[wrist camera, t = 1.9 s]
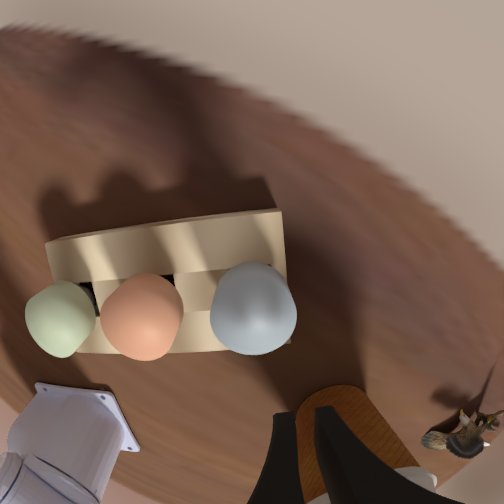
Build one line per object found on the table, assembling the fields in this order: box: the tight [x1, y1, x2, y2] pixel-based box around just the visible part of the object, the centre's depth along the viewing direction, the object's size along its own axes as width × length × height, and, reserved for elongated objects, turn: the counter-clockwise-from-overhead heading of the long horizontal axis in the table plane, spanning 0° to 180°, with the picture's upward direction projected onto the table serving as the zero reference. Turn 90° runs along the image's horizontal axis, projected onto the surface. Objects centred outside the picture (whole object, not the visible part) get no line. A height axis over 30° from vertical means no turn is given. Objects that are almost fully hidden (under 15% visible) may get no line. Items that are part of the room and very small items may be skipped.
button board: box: [45, 208, 291, 354], centre depth 18 cm, size 15×8×2 cm, turn 96°
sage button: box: [25, 280, 96, 358], centre depth 15 cm, size 4×4×4 cm
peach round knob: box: [100, 273, 184, 361], centre depth 15 cm, size 4×4×4 cm
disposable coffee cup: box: [296, 385, 437, 504], centre depth 16 cm, size 10×10×12 cm
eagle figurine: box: [420, 409, 504, 459], centre depth 21 cm, size 8×7×9 cm
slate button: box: [210, 262, 297, 355], centre depth 15 cm, size 4×4×4 cm
